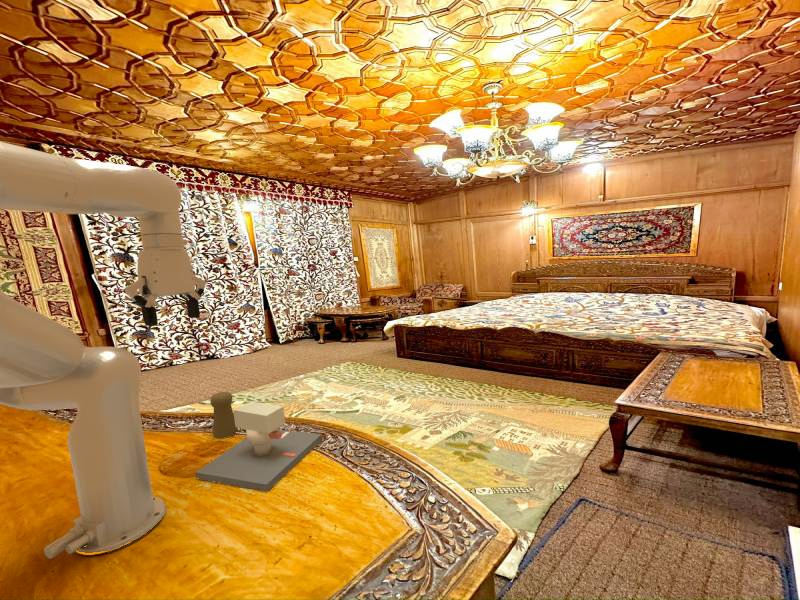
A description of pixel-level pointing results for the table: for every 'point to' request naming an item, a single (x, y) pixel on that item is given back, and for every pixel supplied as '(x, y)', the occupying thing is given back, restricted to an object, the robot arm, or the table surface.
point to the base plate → (260, 461)
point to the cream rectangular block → (260, 421)
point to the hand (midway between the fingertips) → (174, 321)
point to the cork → (223, 415)
